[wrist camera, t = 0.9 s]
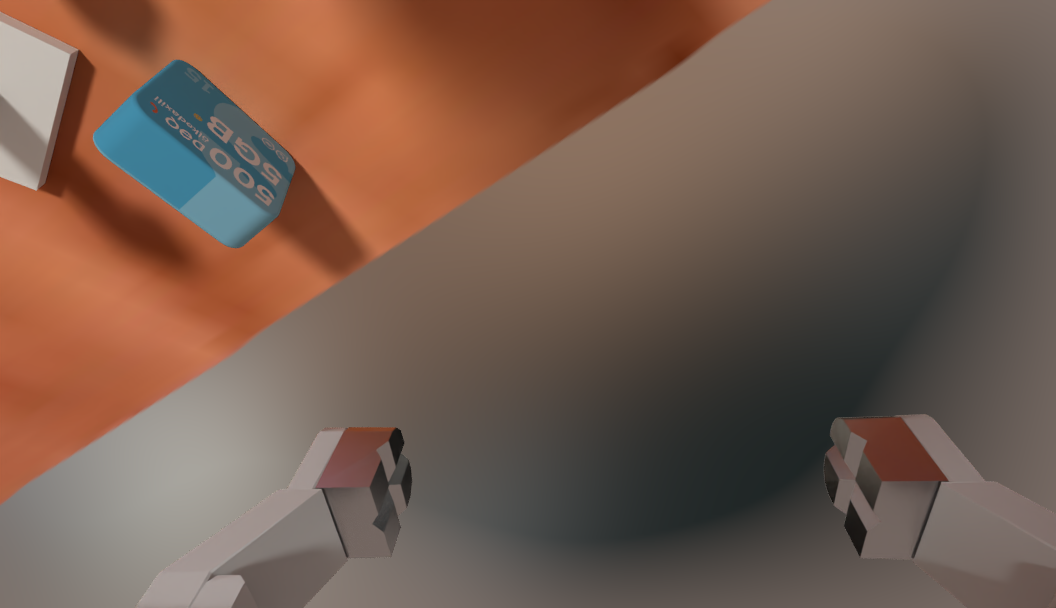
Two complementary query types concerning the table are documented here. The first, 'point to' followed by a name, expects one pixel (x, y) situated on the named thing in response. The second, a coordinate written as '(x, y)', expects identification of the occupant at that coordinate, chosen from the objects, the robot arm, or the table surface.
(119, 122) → the data package
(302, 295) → the table surface
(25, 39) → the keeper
